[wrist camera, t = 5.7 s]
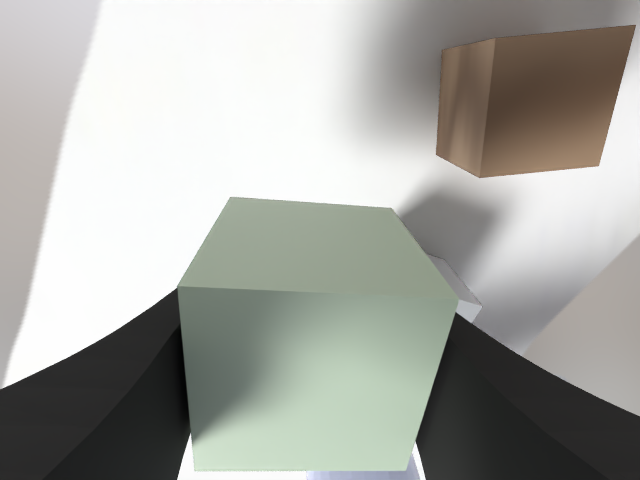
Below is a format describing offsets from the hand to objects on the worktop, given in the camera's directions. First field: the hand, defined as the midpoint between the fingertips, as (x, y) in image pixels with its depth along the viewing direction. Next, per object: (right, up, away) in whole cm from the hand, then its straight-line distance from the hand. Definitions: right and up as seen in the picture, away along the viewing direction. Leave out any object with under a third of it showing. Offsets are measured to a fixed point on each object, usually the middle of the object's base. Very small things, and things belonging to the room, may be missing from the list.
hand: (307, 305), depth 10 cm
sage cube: (0, +1, +1) cm, 2 cm away
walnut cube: (+9, +9, +7) cm, 15 cm away
